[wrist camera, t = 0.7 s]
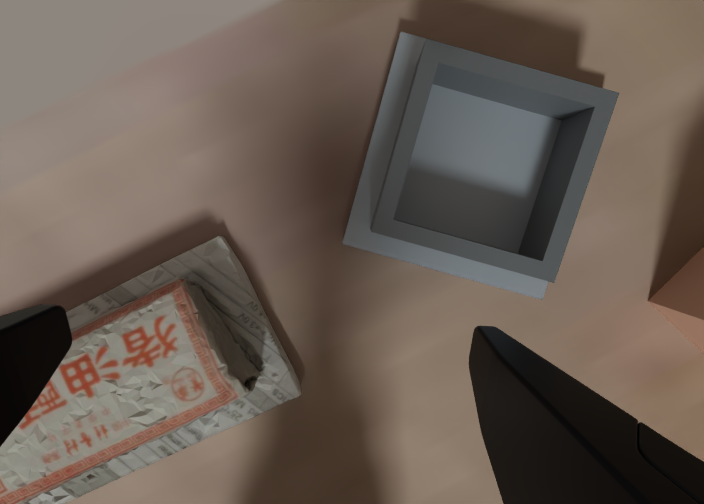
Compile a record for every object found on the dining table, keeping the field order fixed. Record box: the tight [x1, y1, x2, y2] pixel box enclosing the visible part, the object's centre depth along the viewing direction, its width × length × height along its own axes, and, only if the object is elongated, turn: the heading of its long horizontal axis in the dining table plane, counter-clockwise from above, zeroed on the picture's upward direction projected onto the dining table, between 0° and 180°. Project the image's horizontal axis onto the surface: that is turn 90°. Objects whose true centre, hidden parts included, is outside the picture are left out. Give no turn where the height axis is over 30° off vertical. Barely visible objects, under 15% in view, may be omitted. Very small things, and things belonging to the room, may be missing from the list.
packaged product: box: [0, 236, 301, 504], centre depth 22 cm, size 18×5×10 cm
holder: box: [342, 32, 619, 300], centre depth 20 cm, size 11×11×4 cm
